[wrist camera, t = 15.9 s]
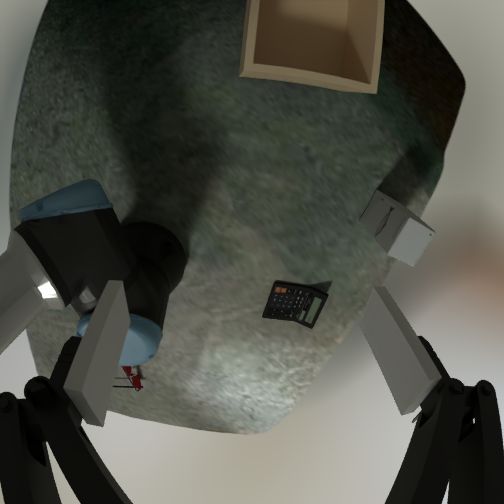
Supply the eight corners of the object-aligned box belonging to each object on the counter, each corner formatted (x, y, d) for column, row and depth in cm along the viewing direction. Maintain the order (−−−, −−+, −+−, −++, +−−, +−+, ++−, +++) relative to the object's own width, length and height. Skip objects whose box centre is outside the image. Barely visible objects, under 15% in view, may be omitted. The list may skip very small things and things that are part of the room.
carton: (238, 76, 40) (243, 70, 30) (249, -21, 31) (257, -51, 21) (342, 91, 42) (376, 93, 32) (351, -2, 33) (385, -20, 23)
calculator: (274, 280, 60) (276, 289, 58) (325, 288, 63) (329, 296, 60) (262, 315, 65) (263, 324, 62) (310, 320, 67) (313, 329, 64)
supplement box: (375, 188, 52) (410, 215, 41) (402, 203, 54) (437, 232, 43) (356, 221, 55) (386, 255, 44) (383, 234, 57) (414, 268, 46)
